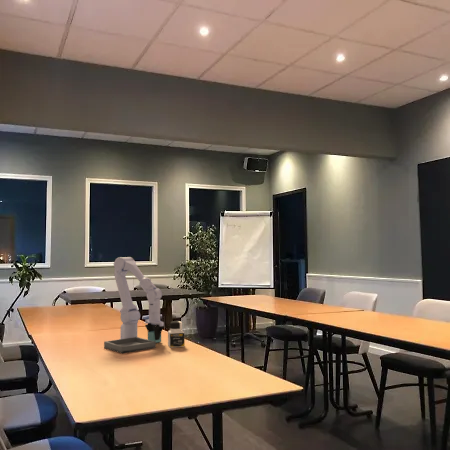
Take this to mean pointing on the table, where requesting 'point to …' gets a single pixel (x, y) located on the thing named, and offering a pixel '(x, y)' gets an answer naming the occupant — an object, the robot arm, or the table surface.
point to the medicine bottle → (176, 335)
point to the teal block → (153, 337)
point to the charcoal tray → (129, 344)
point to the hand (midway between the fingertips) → (154, 338)
